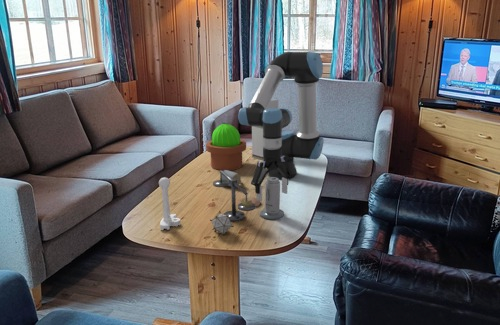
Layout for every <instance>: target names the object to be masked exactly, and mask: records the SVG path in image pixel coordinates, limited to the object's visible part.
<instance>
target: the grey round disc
mask: <svg viewBox="0 0 500 325" xmlns="http://www.w3.org/2000/svg"><path fill="white" fill-rule="evenodd" d="M260 217H261V218H263V219H264V220H269V221H270V220H271V221H275V220H276V221H277V220H281V219H282V218H283V217H285V212H284V210H283V209H280V208H279V212H278V214H276V215H269V214H267V213H266V211H265V208H263V209H262V210H261V211H260Z"/></svg>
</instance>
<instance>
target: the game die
mask: <svg viewBox="0 0 500 325" xmlns="http://www.w3.org/2000/svg"><path fill="white" fill-rule="evenodd" d="M228 216H229V215H228ZM228 216H227V215H224V213H222V212H221V211H220V210H219V213H218V214H217V215H216V216H215V217H214V218H212V219H209V222H211V223H212V226H213V228H212V230H214V233H216V232H218V233H220V234H222V236H225V233H226V232H228V231H229V230H230V229H231V228H235V226H234V225H232V222H231V221H230V218H231V217H230V218H229V217H228Z"/></svg>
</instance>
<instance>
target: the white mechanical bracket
mask: <svg viewBox="0 0 500 325" xmlns="http://www.w3.org/2000/svg"><path fill="white" fill-rule="evenodd" d="M158 185H159V187H160V188H161V190H162V191H161V192H162V213H163V217H162V218H161V220H160V222H159V228H160V229H161V230H164V229H165V230H171V227H174V226H176V227H178V225H179V226H180V225H181V218H179V217H177V214H176V213H171V209H170V201H169V192H168V191H169V187H170V185H171V181H170V179H169V178H168V177H161V178H160V179H159V181H158ZM161 230H160V231H161Z"/></svg>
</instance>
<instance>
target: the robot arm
mask: <svg viewBox="0 0 500 325" xmlns="http://www.w3.org/2000/svg"><path fill="white" fill-rule="evenodd" d="M264 73H265V75H264V77H263V78H262V81H261V82H260V85H259V86H258V87H257V90H256V91H255V93H254V95H253V97H252V99H251V101H250V103H249V105H248V106H245V107H241V108H240V109H239V111H238V114H237V118H238V123H239V124H240V125H242V126H249V127H250V126H251V127H252V126H263V147H264V148H263V157H264V161H263V160H260V161H259V160H258V161H256V169H255V171H254V174H253V177H252V179H251V181H250V184H251V185H252V186H254V189H255V191H254V192H255V194H256V198H257V200H258V201H260V203H262V201H263V186H262V183H263V182H264V180H265V178H266V177H267V175H268V177H276V178H278V179H279V180H281V193H283V194H285V195H286V194H288V186H289V180H290V179H294V178H296V177H298V176H297V174H298V172H297V168H296V165H295V162H294V160H295V159H296V158H297V159H304V160H318V159H319V158H320V157H321V155H322V152H323V148H324V138H323V137H322V136H321V135H320V131H319V130H317V84H318V83H319V81H320V79H321V78H322V76H323V73H324V65H323V59H322V57H321V55H320V54H319V53H317V52H311V51H298V52H297V51H287V52H283V53H280V54H279V55H278V56H276V57H274V59H272V60H271V61H270V62H269V64H268V65H267V66H266V68H265V71H264ZM285 78H294V83H295V84H296V85H297V96H298V98H297V99H298V102H297V103H298V105H297V106H298V126H299V127H298V131H297V132H296V134H295V132H294V131H293V130H284V131H282V130H283V129H284V128H286V127H288V126H289V124H291V122H292V120H293V114H292V112H291V111H290V110H289V109H288V108H283V107H282V108H278V109H277V108H269V109H267V107H268V105H269V103H270V101H271V100H273V97H274V95H275V93H276V90H277V89H278V87H279V85H280V83H281V82H283V80H285Z"/></svg>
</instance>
